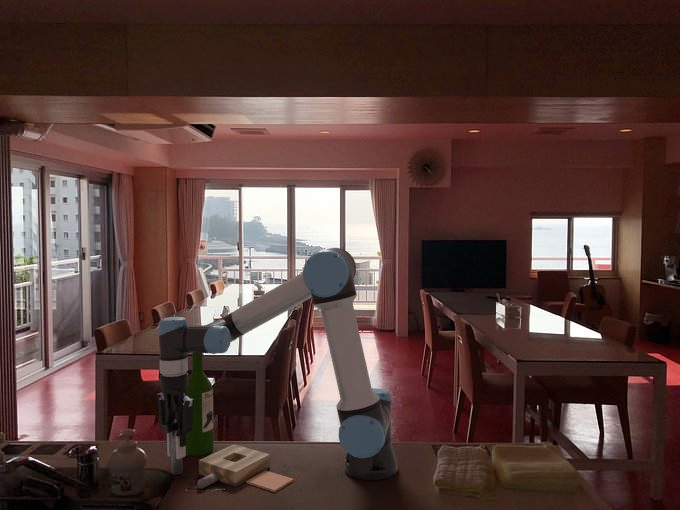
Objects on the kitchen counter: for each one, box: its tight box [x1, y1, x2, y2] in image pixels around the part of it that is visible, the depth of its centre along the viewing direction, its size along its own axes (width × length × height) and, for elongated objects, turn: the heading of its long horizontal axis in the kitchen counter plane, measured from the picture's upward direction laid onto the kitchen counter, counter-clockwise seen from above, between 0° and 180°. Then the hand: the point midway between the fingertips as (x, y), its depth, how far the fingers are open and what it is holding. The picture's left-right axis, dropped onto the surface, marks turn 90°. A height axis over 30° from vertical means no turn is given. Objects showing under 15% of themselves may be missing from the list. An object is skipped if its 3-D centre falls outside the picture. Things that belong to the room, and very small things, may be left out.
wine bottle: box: [186, 353, 214, 457], centre depth 177 cm, size 9×9×32 cm
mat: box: [245, 470, 294, 493], centre depth 156 cm, size 10×8×1 cm
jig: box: [197, 444, 271, 490], centre depth 160 cm, size 14×20×4 cm
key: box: [161, 418, 184, 475], centre depth 160 cm, size 3×8×14 cm, turn 147°
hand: (176, 455), depth 160 cm, fingers closed on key, 3 cm apart
